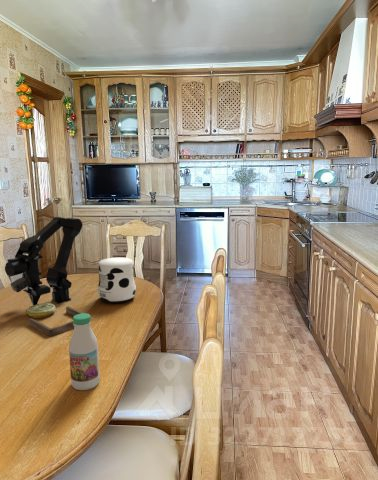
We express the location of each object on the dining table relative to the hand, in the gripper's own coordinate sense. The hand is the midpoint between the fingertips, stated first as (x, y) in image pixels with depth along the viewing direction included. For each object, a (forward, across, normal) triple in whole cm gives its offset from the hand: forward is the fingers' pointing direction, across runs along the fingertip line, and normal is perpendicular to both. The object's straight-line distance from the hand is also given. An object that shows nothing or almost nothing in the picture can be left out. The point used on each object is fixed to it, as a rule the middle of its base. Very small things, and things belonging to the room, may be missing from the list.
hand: (34, 305), depth 154 cm
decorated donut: (+2, +6, 0) cm, 6 cm away
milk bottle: (+2, +63, -16) cm, 65 cm away
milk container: (+2, +14, +32) cm, 35 cm away
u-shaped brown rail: (+2, +19, 0) cm, 20 cm away
